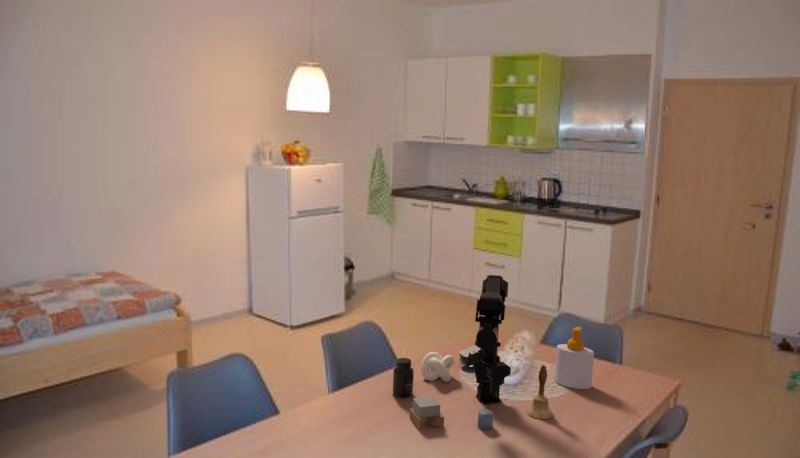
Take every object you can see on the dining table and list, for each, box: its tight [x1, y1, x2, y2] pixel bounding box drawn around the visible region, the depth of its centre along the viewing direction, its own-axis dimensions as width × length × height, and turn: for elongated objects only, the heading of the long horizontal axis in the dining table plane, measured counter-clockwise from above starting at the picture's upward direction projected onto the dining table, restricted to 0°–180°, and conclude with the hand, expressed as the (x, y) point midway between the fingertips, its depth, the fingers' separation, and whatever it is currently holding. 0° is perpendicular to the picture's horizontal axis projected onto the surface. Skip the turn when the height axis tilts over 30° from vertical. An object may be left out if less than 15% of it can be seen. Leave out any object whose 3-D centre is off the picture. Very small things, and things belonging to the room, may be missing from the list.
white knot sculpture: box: [420, 351, 455, 383], centre depth 228 cm, size 11×12×9 cm
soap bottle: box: [554, 326, 595, 390], centre depth 225 cm, size 13×8×20 cm, turn 58°
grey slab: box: [412, 395, 441, 418], centre depth 195 cm, size 6×6×4 cm
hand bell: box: [526, 364, 554, 420], centre depth 202 cm, size 8×8×16 cm
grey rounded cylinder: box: [477, 409, 494, 431], centre depth 193 cm, size 4×4×4 cm
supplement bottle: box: [392, 357, 415, 399], centre depth 214 cm, size 7×7×12 cm
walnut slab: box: [409, 408, 445, 431], centre depth 195 cm, size 8×8×4 cm
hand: (485, 388), depth 191 cm, fingers open, 9 cm apart
